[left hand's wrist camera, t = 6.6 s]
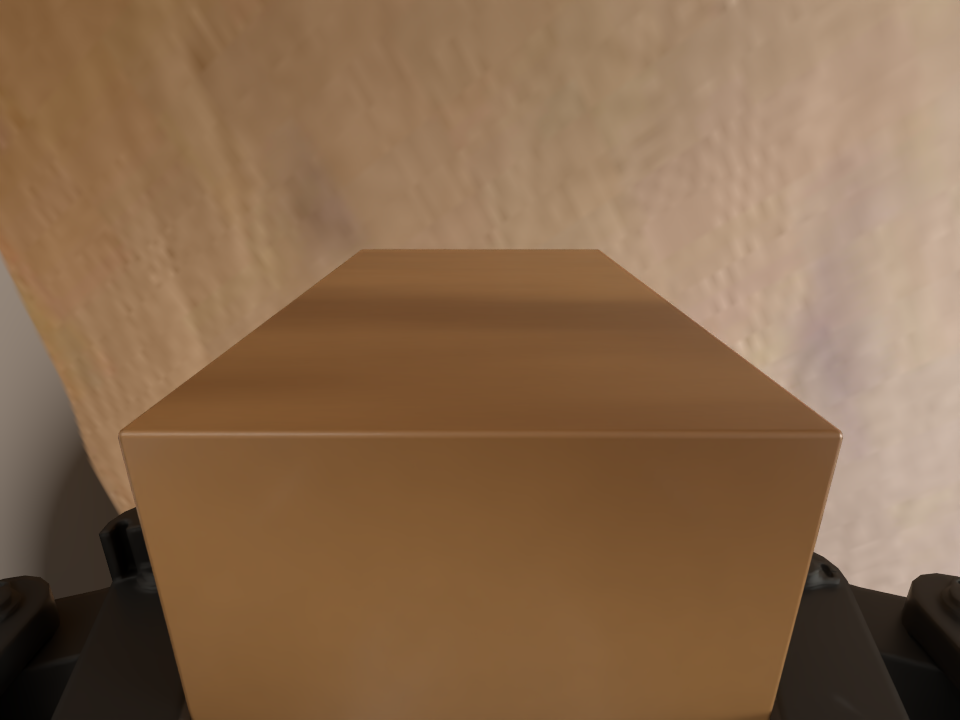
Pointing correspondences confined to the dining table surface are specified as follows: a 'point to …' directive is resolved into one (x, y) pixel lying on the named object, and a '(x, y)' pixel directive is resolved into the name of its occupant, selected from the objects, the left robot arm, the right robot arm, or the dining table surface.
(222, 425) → the bar
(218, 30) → the dining table surface
